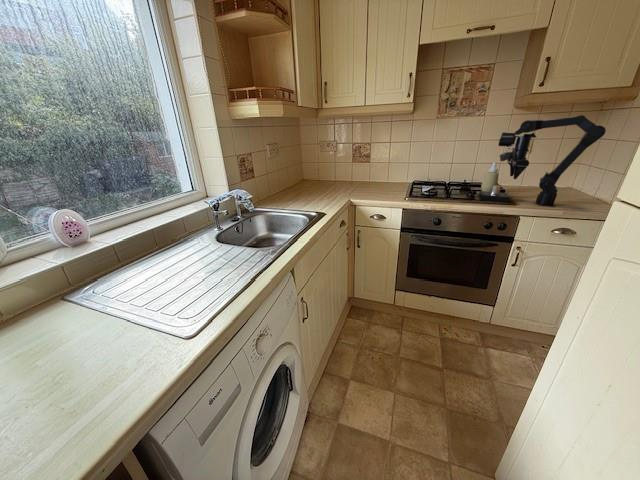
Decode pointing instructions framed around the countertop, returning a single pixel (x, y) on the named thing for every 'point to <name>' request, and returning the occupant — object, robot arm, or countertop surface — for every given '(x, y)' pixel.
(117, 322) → the countertop surface
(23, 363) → the countertop surface
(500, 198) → the control panel
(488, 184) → the squeeze bottle
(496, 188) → the dial
